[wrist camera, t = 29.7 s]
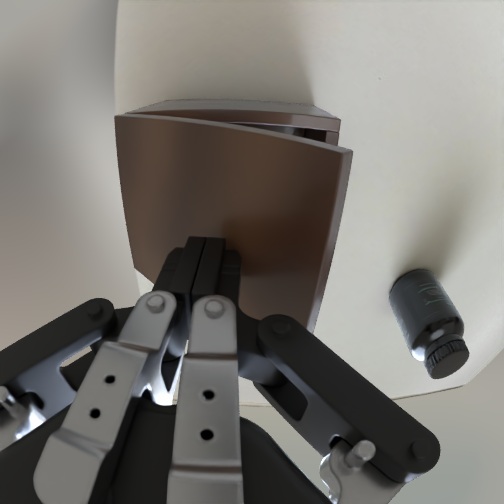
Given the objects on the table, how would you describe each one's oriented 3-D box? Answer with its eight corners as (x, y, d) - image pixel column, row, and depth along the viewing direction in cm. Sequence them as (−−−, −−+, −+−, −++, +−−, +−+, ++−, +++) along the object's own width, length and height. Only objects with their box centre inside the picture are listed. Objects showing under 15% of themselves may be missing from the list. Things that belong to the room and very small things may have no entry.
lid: (354, 150, 8) (343, 153, 7) (301, 372, 14) (291, 383, 13) (126, 113, 15) (113, 115, 14) (143, 263, 21) (134, 267, 20)
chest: (314, 105, 22) (341, 119, 15) (301, 216, 28) (315, 271, 21) (166, 100, 22) (123, 113, 15) (170, 209, 28) (140, 261, 21)
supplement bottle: (418, 312, 35) (450, 383, 25) (378, 306, 34) (408, 386, 24) (444, 273, 32) (488, 343, 21) (404, 262, 31) (448, 341, 21)
